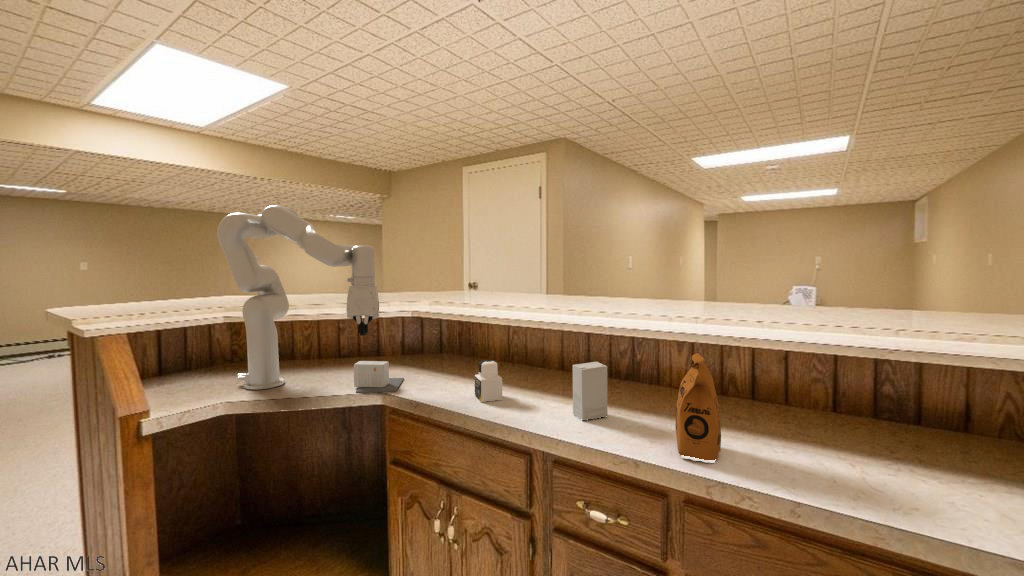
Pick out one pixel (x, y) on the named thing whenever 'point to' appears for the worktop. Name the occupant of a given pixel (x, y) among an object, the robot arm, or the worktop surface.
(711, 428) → the coffee package
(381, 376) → the small box
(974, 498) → the worktop surface
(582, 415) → the skincare box
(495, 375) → the medicine bottle
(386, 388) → the mat
